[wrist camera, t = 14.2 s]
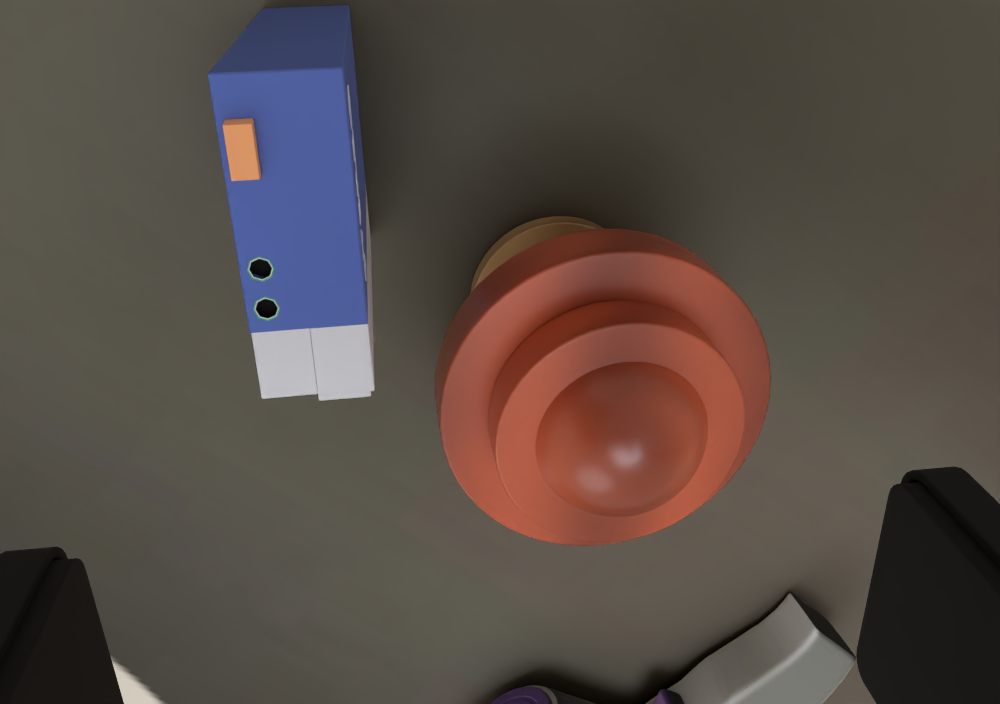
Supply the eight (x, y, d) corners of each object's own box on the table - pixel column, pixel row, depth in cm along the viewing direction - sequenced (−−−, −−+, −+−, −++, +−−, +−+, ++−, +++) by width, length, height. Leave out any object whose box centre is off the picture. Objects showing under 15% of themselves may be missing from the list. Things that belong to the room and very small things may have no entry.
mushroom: (691, 159, 33) (849, 287, 22) (673, 400, 37) (796, 601, 27) (413, 174, 32) (440, 317, 21) (428, 421, 36) (457, 640, 26)
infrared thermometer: (832, 618, 46) (626, 808, 48) (672, 497, 41) (453, 716, 44) (883, 685, 41) (654, 889, 44) (712, 558, 37) (468, 796, 40)
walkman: (260, 7, 29) (202, 77, 18) (349, 4, 29) (343, 70, 18) (291, 244, 32) (258, 417, 22) (371, 238, 33) (376, 406, 22)
